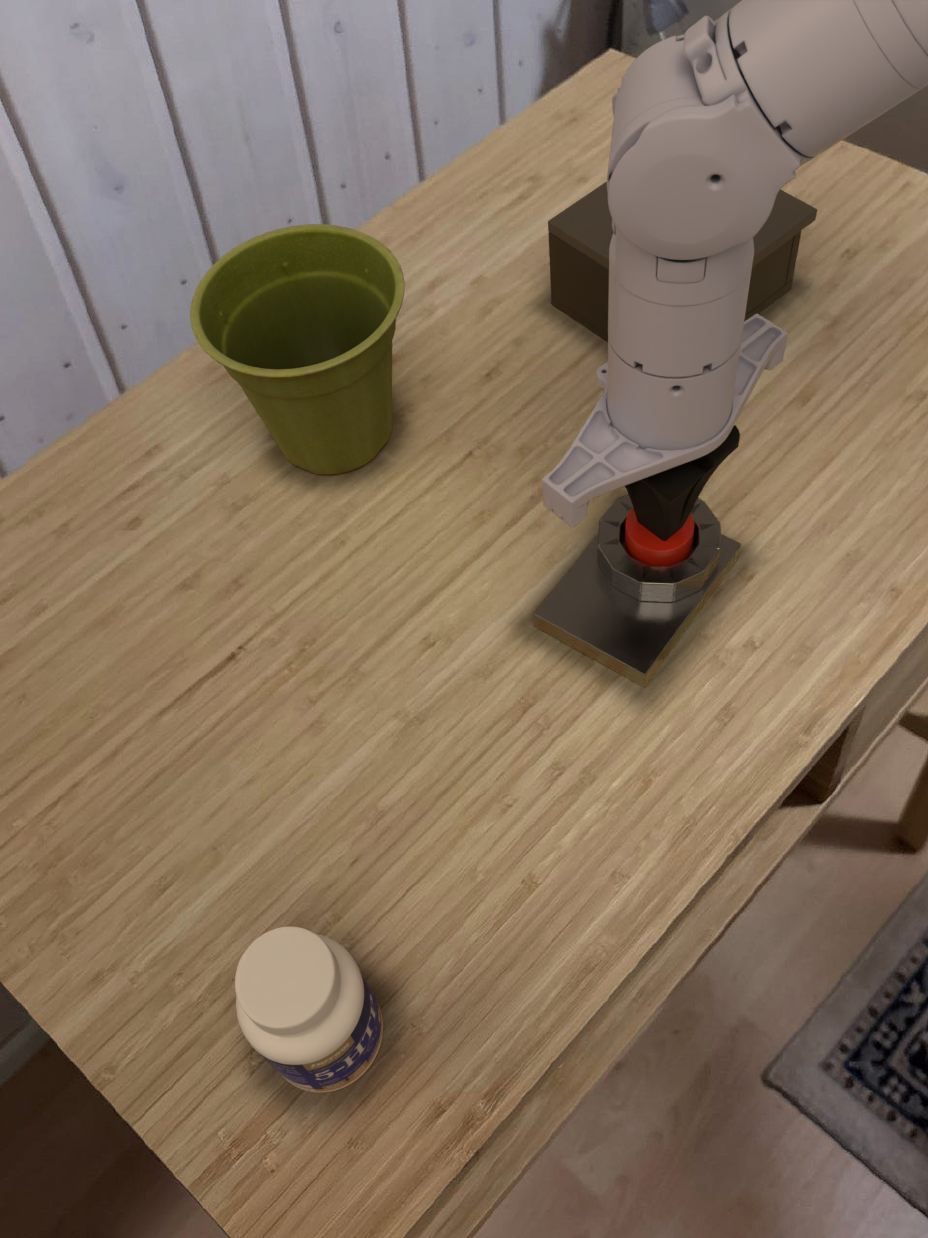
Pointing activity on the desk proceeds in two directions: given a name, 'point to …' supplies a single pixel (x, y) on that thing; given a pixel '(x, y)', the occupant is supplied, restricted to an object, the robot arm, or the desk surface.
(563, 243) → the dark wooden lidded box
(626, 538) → the button
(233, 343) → the plant pot
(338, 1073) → the pill bottle
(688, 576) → the button block
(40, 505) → the desk surface
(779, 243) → the lid
